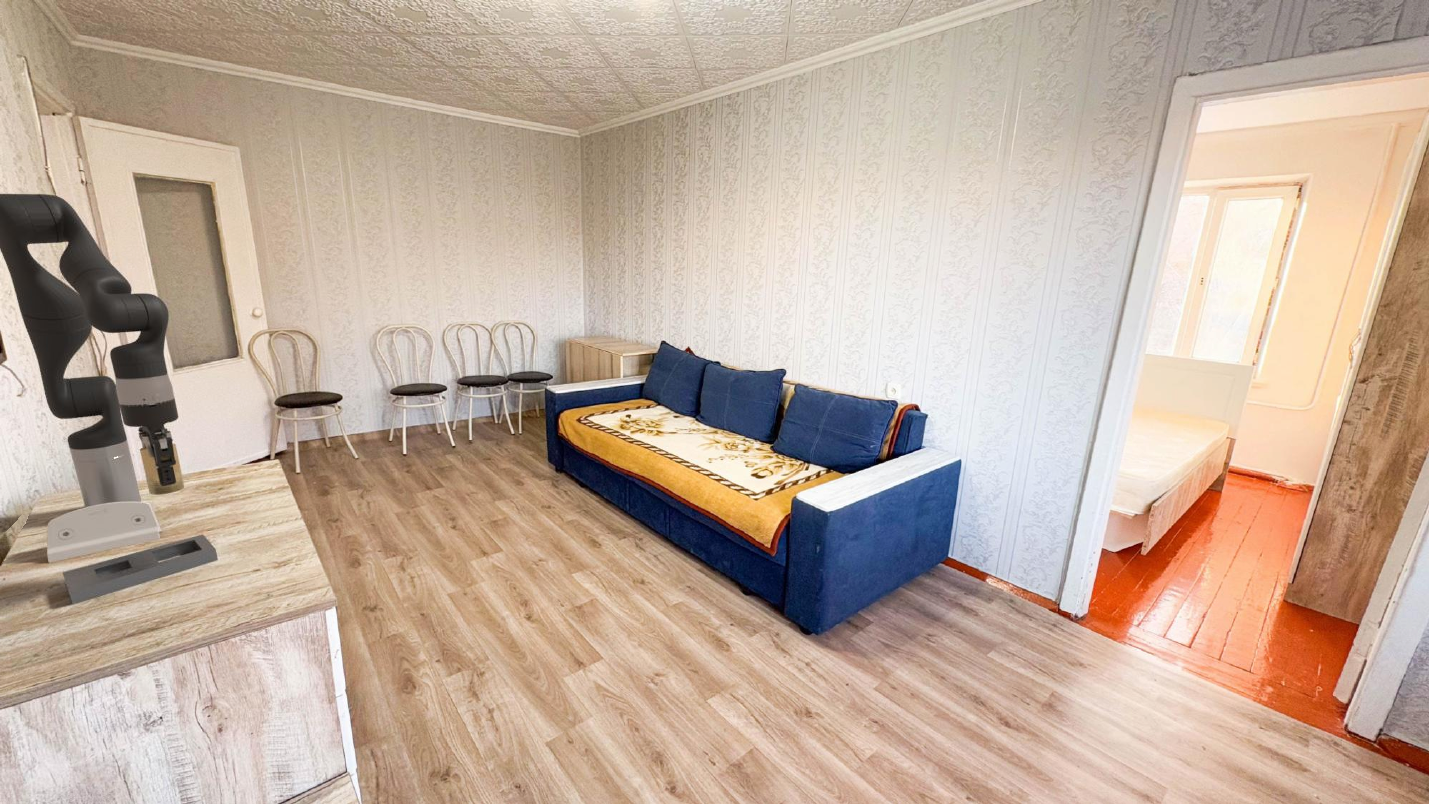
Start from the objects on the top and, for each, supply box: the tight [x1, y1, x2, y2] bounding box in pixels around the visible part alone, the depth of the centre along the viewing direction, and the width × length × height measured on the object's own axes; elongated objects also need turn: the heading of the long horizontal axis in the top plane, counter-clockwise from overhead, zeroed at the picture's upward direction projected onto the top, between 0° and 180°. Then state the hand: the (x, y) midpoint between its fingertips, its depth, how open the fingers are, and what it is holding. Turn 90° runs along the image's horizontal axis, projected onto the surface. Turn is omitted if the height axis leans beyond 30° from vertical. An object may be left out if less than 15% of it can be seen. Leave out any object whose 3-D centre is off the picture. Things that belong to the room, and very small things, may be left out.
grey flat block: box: [62, 534, 219, 605], centre depth 109 cm, size 10×20×2 cm, turn 144°
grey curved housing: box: [46, 501, 163, 563], centre depth 118 cm, size 17×5×10 cm, turn 134°
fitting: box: [139, 443, 185, 496], centre depth 108 cm, size 5×5×9 cm
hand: (165, 480), depth 109 cm, fingers closed on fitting, 5 cm apart
